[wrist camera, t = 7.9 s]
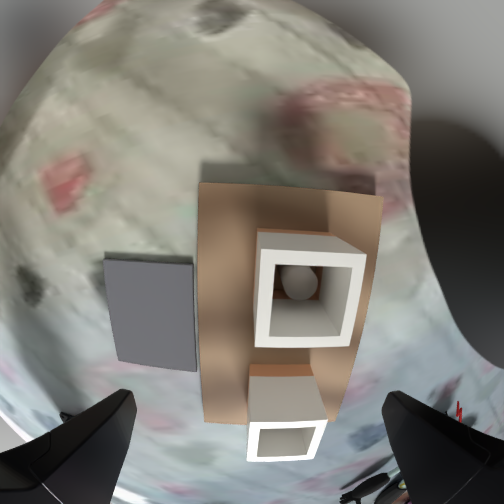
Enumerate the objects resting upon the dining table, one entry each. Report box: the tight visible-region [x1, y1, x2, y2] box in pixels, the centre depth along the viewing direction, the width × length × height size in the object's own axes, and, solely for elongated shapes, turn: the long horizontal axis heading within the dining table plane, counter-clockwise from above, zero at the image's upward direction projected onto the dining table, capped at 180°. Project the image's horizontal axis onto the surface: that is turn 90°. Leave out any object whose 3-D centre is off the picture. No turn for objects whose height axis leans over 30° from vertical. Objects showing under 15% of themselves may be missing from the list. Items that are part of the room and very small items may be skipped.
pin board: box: [197, 183, 383, 425], centre depth 17 cm, size 20×12×5 cm, turn 177°
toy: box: [339, 401, 462, 504], centre depth 23 cm, size 26×8×30 cm
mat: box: [103, 258, 197, 372], centre depth 19 cm, size 9×7×1 cm
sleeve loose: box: [253, 228, 367, 348], centre depth 15 cm, size 5×5×6 cm
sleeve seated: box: [247, 364, 328, 461], centre depth 17 cm, size 5×5×6 cm
